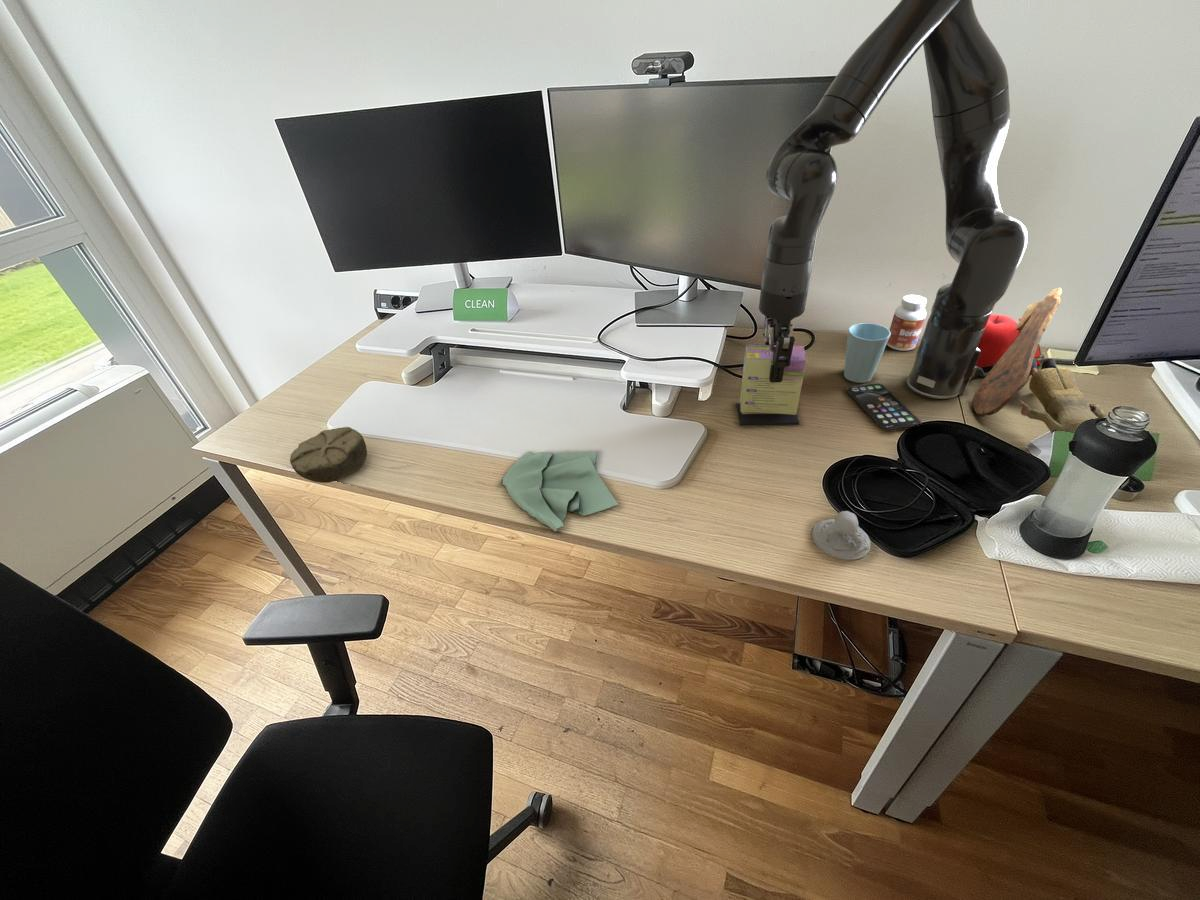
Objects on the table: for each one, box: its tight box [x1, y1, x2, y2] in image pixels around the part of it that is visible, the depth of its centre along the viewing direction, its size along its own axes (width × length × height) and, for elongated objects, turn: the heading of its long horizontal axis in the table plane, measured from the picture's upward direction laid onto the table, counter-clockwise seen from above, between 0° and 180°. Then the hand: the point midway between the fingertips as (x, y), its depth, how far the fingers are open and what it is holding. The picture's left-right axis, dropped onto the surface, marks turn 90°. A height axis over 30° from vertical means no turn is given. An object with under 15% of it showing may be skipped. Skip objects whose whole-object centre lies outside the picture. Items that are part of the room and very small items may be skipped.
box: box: [739, 344, 807, 415], centre depth 99 cm, size 10×6×12 cm, turn 79°
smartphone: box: [847, 382, 922, 432], centre depth 102 cm, size 7×1×15 cm
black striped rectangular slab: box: [735, 402, 800, 426], centre depth 103 cm, size 11×7×1 cm, turn 85°
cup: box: [843, 322, 891, 384], centre depth 108 cm, size 8×8×10 cm
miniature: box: [811, 510, 872, 561], centre depth 76 cm, size 8×8×5 cm
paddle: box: [972, 287, 1063, 417], centre depth 99 cm, size 8×3×30 cm
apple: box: [975, 313, 1020, 368], centre depth 108 cm, size 10×10×11 cm
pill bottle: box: [886, 294, 928, 352], centre depth 117 cm, size 6×6×11 cm
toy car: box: [1018, 317, 1045, 366], centre depth 107 cm, size 12×5×3 cm
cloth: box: [501, 451, 619, 532], centre depth 91 cm, size 20×22×2 cm
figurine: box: [1019, 357, 1130, 490], centre depth 89 cm, size 11×9×30 cm
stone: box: [289, 426, 368, 484], centre depth 100 cm, size 13×13×5 cm
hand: (772, 371), depth 98 cm, fingers closed on box, 6 cm apart
